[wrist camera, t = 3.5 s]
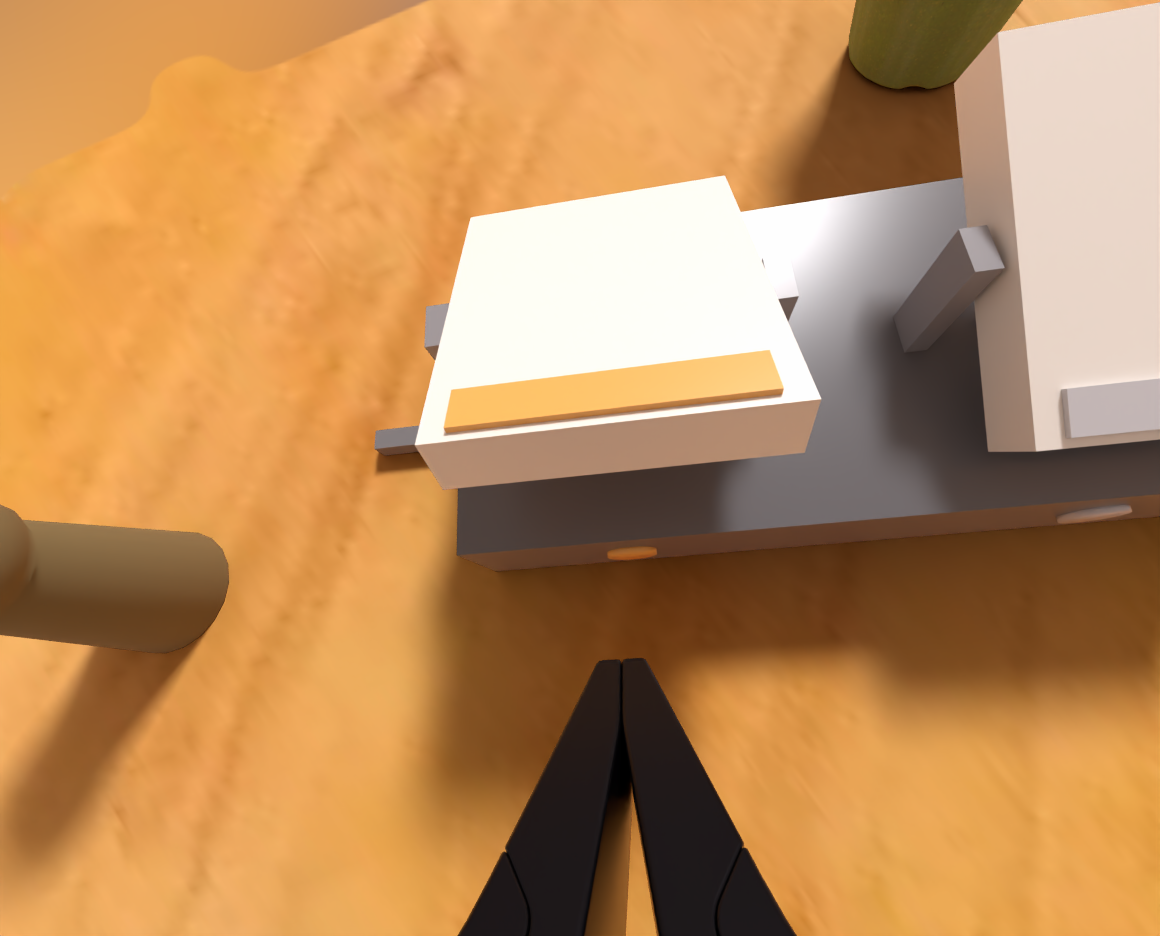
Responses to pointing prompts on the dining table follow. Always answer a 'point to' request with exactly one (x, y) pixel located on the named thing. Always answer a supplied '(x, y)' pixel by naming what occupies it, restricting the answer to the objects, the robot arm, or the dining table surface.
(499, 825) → the dining table surface
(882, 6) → the plant pot
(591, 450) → the orange striped rocker plate
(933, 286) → the rocker switch box
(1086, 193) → the white rocker
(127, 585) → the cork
